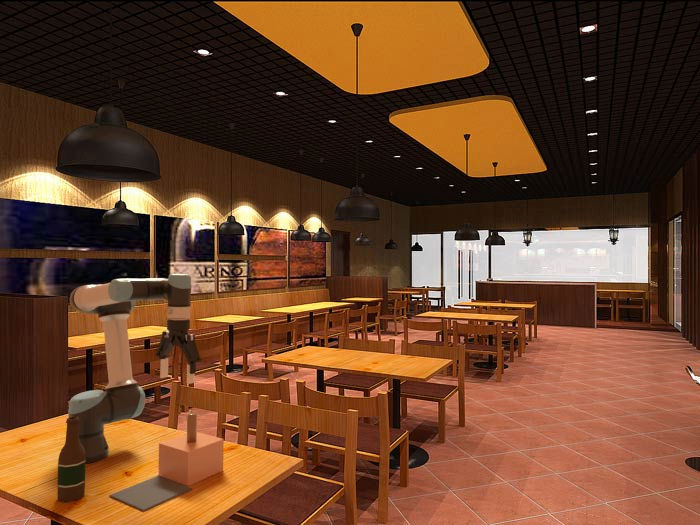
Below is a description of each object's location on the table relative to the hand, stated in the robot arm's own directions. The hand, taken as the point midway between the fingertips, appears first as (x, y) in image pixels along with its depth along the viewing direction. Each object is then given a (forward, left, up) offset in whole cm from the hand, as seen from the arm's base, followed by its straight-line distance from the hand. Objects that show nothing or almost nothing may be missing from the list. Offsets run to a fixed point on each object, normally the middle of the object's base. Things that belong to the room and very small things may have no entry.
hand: (176, 380), depth 169 cm
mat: (+7, -14, -32) cm, 35 cm away
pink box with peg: (+5, +3, -32) cm, 32 cm away
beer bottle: (-11, -29, -32) cm, 45 cm away
